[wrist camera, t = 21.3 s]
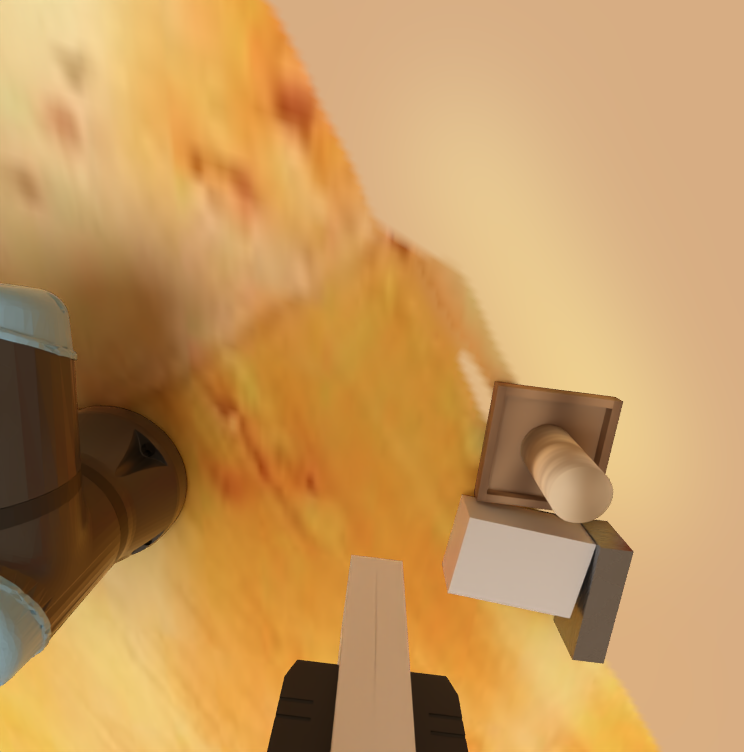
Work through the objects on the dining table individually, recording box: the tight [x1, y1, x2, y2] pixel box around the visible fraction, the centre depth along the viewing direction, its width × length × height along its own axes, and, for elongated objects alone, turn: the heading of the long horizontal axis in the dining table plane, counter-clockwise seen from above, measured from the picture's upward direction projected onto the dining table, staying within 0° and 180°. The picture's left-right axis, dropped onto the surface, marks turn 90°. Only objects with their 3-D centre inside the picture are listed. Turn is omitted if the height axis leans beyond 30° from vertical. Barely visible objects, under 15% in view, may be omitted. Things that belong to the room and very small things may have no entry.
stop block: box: [554, 520, 633, 663], centre depth 50 cm, size 3×12×6 cm, turn 173°
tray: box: [474, 382, 623, 510], centre depth 49 cm, size 12×12×2 cm
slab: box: [442, 495, 596, 618], centre depth 50 cm, size 12×8×5 cm, turn 77°
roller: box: [520, 425, 613, 523], centre depth 45 cm, size 5×5×9 cm
